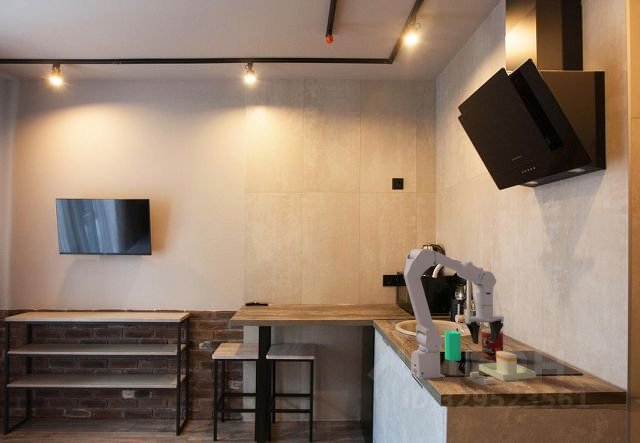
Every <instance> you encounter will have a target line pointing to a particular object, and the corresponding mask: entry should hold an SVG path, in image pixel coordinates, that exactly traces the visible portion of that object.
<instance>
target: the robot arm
mask: <svg viewBox="0 0 640 443" xmlns="http://www.w3.org/2000/svg"><path fill="white" fill-rule="evenodd" d="M405 259H406V262H405V267H404V273H403V279H404V281H405V282H404V283H405V285H406V290H407V293H408V295H409V299H410V303H411V307H412V311H413V313H414V317H415V321H416V325H415V341H416V342H417V344H418V349H417V350H413V351H412V352H411V355H410V370H411V371H410V374H412V375H414V376H415V377H417V378H419V379H420V380H423V379H424V380H425V379H435V378H444V377H446V376H445V375H444V374H443V373H441V349H442V347H443V345H444V339H443V336H442V335H441V334H440V332H439V330H438V328H437V326H436V324H434V323H435V322H434V321H433V319H432V316H431V311H430V309H429V308H430V307H429V305H428V301H427V297H426V294H425V290H424V287H423V283H422V279H421V278H422V276H423V274H424V273H425V272H426V271H427V270H428V269H429V268H430V267H432V266H433V265H435V266H436V265H440V266H442V267H445V268H447V269H450V270H452V271H455V272H456V274H457V277H459V278H462V279H464V280H466V281H468V282H470V283H472V284H474V286H475V315H474V316H467V317H465V318H464V320H465V325H466V327H467V329H468V331H469V333H470V337H471V340H472V343H473V344H475V345H478V344H479V334H480V328H481V325H480V323H481V324H482V323H488V324H489V328H490V329H491V341H492V342H494V343H497V339H498V336H499V333H500V331H501V330H502V329H503V327H504V322H505V318H504V316H503V315H494V287H495V286H496V283H497V279H496V277H495V274H494V273H492V271H487V270H484V268H483V267H481V266H479V267H478V266H476V265H474V264H473V262H471V261H468V260H467V261H462V262H459V261H457V260H454V259H453V258H451V257H448V256H447V255H445V254H443V253H440V252H438V251H436V250H432V249H429V248H417V247H416V248H413V249H411V250H410V251H409V252H408V254H407V255H406V257H405Z"/></svg>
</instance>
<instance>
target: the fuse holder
mask: <svg viewBox="0 0 640 443" xmlns="http://www.w3.org/2000/svg"><path fill="white" fill-rule="evenodd" d="M464 378H465V379H467V380H469V381H471V382H473V383H474V384H477V385H479V386H480V387H482V386H492V385H493V386H495V385H500V383H499V382H497V381H495V380H494V378H491V377H490V378H488V377H486V376H484V375H481V374H480V372H479V371H473V372H471V371H470V373H469V376H464Z"/></svg>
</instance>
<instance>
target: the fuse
mask: <svg viewBox="0 0 640 443" xmlns="http://www.w3.org/2000/svg"><path fill="white" fill-rule="evenodd" d="M517 356H518V355H517V354H515V353H513V352H509V351H506V350H503V351H496V360H495V361H496V363H497V372H499V373H501V374H513V373H517V365H518V358H517Z"/></svg>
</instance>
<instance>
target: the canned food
mask: <svg viewBox="0 0 640 443" xmlns="http://www.w3.org/2000/svg"><path fill="white" fill-rule="evenodd" d="M496 351H504V331H503V330H502V329H501V331H500V333H499V336H498V339H497V343H494V342H492V341H491V329H490V327H488V328H487V327H485V328H482V329H481V356H482V358H483V359H485V360H488V361H490V360H491V361H497V360H496Z"/></svg>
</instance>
